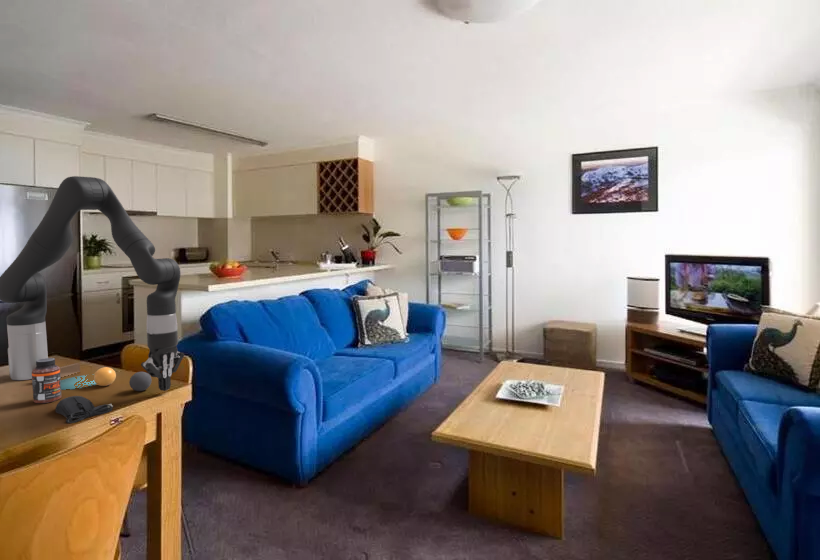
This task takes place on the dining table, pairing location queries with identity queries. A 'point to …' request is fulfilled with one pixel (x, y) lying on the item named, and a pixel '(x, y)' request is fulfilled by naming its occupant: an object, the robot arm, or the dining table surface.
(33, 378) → the supplement bottle
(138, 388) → the grey ball
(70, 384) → the teal mark
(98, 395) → the dining table surface
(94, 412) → the computer mouse
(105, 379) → the orange ball
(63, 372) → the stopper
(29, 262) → the robot arm
